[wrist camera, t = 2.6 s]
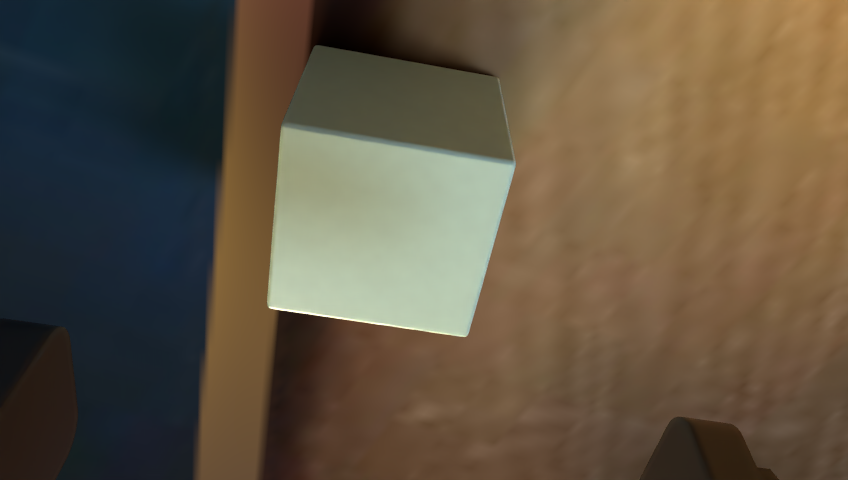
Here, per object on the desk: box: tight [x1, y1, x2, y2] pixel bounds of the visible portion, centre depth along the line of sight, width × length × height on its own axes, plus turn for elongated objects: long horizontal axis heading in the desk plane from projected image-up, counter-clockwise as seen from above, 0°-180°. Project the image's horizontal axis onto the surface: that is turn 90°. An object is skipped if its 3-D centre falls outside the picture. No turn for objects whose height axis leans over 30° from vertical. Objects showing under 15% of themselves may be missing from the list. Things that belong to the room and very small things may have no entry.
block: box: [267, 45, 516, 337], centre depth 15 cm, size 4×4×4 cm
